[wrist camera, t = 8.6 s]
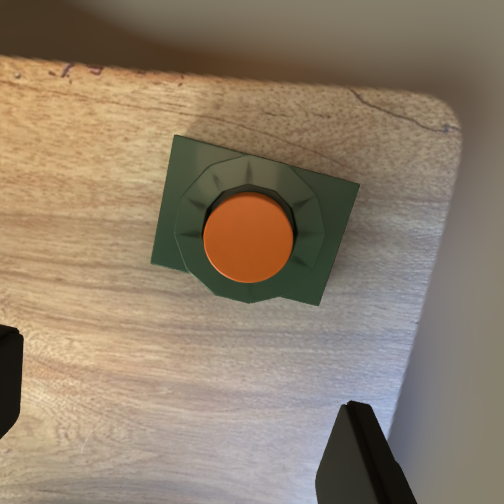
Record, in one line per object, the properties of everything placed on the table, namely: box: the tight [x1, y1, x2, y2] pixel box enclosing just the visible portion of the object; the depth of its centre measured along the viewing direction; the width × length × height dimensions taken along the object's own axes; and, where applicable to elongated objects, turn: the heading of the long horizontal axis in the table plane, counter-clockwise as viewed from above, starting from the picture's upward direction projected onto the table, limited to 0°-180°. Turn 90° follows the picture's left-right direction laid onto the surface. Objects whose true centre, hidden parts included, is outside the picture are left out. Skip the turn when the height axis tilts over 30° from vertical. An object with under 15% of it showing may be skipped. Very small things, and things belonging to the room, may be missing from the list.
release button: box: [203, 192, 293, 283], centre depth 14 cm, size 4×4×2 cm
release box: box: [151, 135, 360, 306], centre depth 16 cm, size 9×6×4 cm
